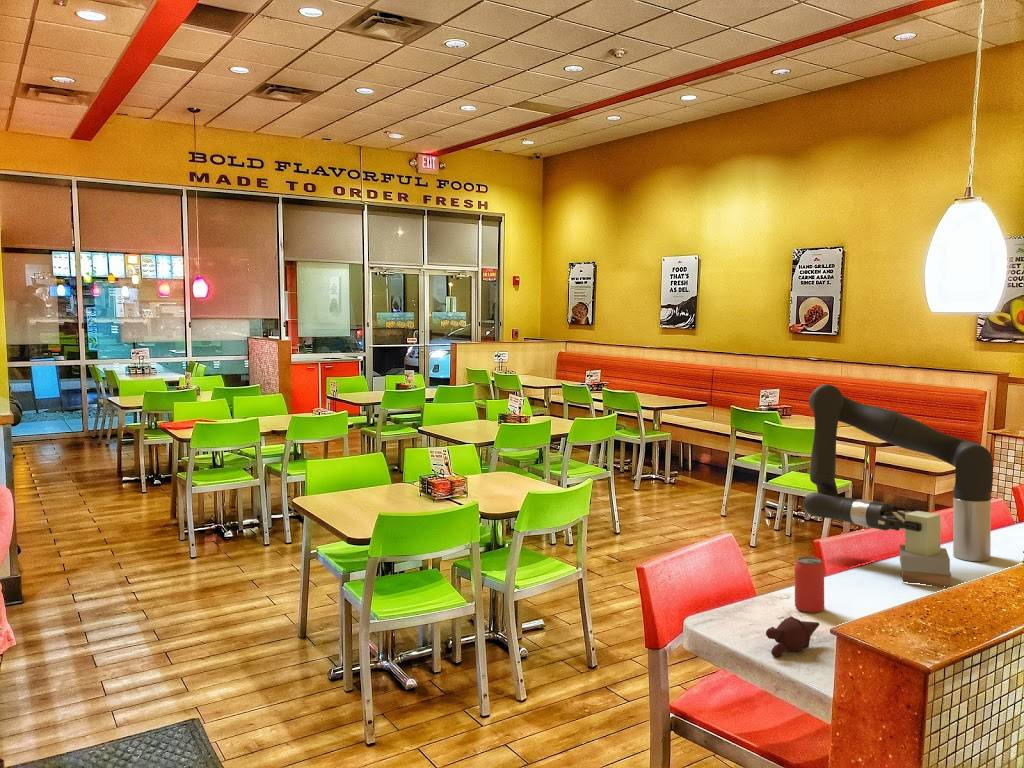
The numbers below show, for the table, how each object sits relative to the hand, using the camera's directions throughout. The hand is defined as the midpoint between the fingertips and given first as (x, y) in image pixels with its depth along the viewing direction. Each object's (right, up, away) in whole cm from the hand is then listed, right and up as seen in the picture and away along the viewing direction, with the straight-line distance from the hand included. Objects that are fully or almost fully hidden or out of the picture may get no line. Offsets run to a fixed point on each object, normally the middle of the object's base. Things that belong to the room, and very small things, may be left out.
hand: (929, 525), depth 199 cm
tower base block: (0, -15, +2) cm, 15 cm away
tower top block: (-1, -11, +2) cm, 11 cm away
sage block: (-1, -7, +2) cm, 8 cm away
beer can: (-38, -17, -17) cm, 46 cm away
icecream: (-51, -19, -40) cm, 67 cm away
